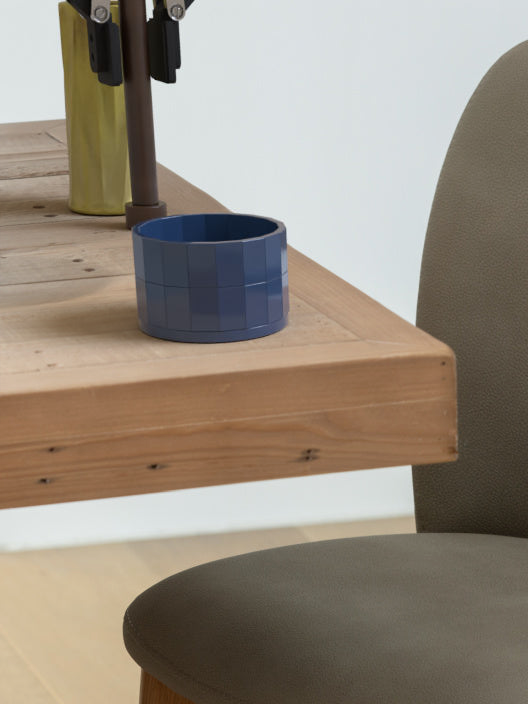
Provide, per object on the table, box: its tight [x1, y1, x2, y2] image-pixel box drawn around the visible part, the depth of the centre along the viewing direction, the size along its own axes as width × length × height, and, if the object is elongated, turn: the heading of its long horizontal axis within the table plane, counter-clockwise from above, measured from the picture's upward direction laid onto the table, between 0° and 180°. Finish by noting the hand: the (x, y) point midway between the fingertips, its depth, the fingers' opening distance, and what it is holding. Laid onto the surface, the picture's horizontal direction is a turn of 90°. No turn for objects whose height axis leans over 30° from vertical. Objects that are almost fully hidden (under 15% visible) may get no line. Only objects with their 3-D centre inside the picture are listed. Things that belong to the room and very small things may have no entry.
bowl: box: [130, 212, 290, 344], centre depth 83 cm, size 8×8×5 cm
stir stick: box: [117, 0, 168, 230], centre depth 104 cm, size 3×3×15 cm
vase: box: [57, 0, 132, 216], centre depth 111 cm, size 6×6×14 cm
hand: (137, 80), depth 104 cm, fingers open, 3 cm apart
